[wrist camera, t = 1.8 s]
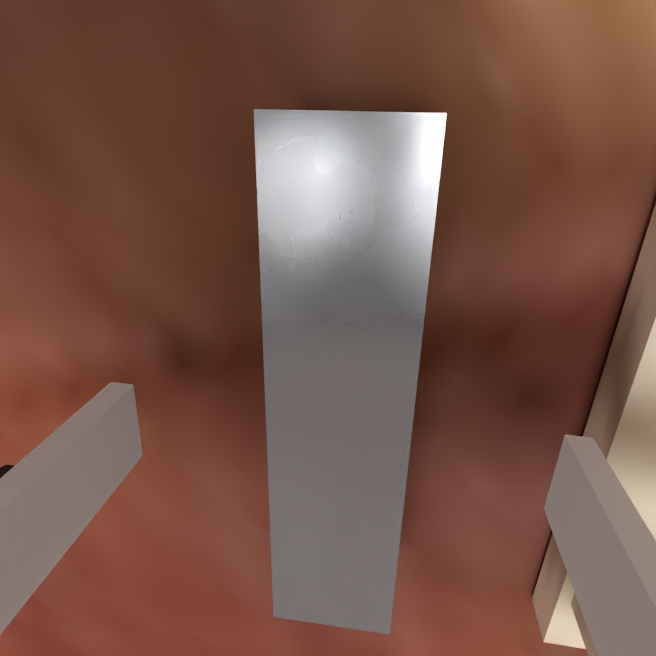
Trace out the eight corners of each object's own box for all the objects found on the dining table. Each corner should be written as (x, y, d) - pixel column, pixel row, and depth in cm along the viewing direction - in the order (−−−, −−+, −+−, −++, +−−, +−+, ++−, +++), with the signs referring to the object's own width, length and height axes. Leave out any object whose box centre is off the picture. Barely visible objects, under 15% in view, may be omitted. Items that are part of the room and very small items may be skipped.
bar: (292, 111, 15) (253, 109, 11) (435, 114, 15) (446, 113, 11) (296, 527, 23) (273, 616, 19) (392, 539, 22) (389, 634, 18)
